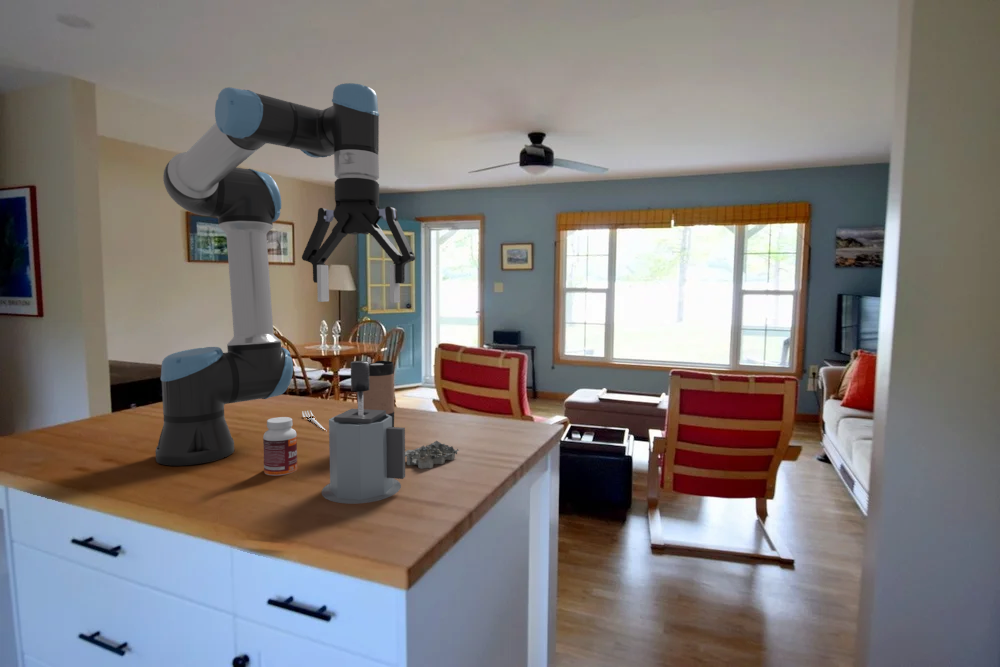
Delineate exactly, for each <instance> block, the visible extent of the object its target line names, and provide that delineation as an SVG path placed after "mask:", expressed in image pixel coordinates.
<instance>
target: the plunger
mask: <svg viewBox="0 0 1000 667" xmlns="http://www.w3.org/2000/svg"><path fill="white" fill-rule="evenodd" d="M369 364H370V361H369V360H354V361H350V391H352V392H356V393H357V409H358V415H364V406H363V391H368V390H370V386H369ZM363 424H364V423H358V425H363Z"/></svg>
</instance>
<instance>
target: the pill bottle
mask: <svg viewBox="0 0 1000 667" xmlns="http://www.w3.org/2000/svg"><path fill="white" fill-rule="evenodd" d="M266 427H267V430H266V431H265V432H264V434H263V436H262V437H263V438H262V440H263V473H264V474H265V475H267V476H285V475H289V474H292V473H295V472H296V471H297V470H298V448H297V447H298V443H297V442H298V437H297V436H298V435H297V431H296V430H295V429H294V428H292V427H293V418H291V417H288V416H279V417H271V418H268V419H267V420H266Z"/></svg>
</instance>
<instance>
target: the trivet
mask: <svg viewBox="0 0 1000 667" xmlns="http://www.w3.org/2000/svg"><path fill="white" fill-rule="evenodd" d="M401 487H402V484H401V482H400V481H399V479H398V480H397V479H396V478H393V486H392V487H391V488H390V489H389V490H388V491H387V492H386V493H385V494H384V495H380V496H375V497H371V498H366V499H362V500H358V499H346V498H338V497H337V496H336V495H335V494H334V493H333V492H332V491H331V490H330V482H329V483H328V484H326V485H325V486H324V487H323V488H322V490H321V496H322V497H323V498H324V499H326V500H328V501H330V502H334V503H340V504H347V505H348V504H352V505H353V504H355V505H356V504H366V503H373V502H378V501H381V500H384V499H385V500H386V499H388V498H390V497H392V496H394V495H396V494H398V492H399V491H400V490H401Z"/></svg>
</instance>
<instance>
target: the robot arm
mask: <svg viewBox="0 0 1000 667" xmlns="http://www.w3.org/2000/svg"><path fill="white" fill-rule="evenodd" d="M217 97H218V98H217V99H216V101H215V107H214V119H215V123H214V124H213V125H212V126H211V127H210V128H209V129H208V130H207V131H206V132H205V133H204V134H203V135H202V136H201V137H200V138H199V139H198V140H197V141H196V142H195V143H194V144H193V145H192V146H191V147H190V148H189V149H188V150H187V151H184V152H180V153H178V154H175V155H173V157H172V158H171V159H170V160H169V161H168V163H166V166H165V167H164V170H163V178H162V179H163V184H164V187H165V190H166V192H167V194H168V195H169V197H170V199H172V200H173V201H174V203H176V204H177V205H178V206H179V207H181V208H182V209H184V210H186V211H187V212H190V213H192V214H195V215H199V216H203V217H211V218H212V217H213V218H217V224H218V228H219V229H220V230H221V231H222V232H224V233H225V234H226V247H227V248H226V249H227V260H228V262H227V263H228V275H229V287H230V301H231V313H232V316H231V317H232V327H233V328H232V329H233V336H232V339H231V340H230V341H229V342H228V343H226V344H227V347H226V348H227V352H224V351H223V350H222V348H221V347H219V346H206V347H198V348H190V349H186V350H185V349H184V350H181V351H176V352H173V353H171V354H168V355H167V356H165V357H164V358H163V360H162V362H161V370H160V371H161V372H160V381H161V391H162V392H161V394H162V412H163V426H162V429H161V432H160V435H159V439H158V442H157V446H156V448H155V461H156V463H158V464H160V465H163V466H164V465H165V466H172V467H174V466H176V467H177V466H179V467H181V466H191V465H201V464H207V463H211V462H215V461H218V460H222V459H224V457H225V458H226V457H228V456H231V455H232V454H234V452H235V440H234V438H233V437H232V434H231V431H230V429H229V425H228V424H227V421H226V418H225V405H228V404H235V403H236V404H237V403H241V402H248V401H257V400H267V399H269V398H274V397H278V396H281V395H283V394H284V393H285V392H286V391H287V390H288V387H289V386H290V385H291V383H292V377H293V374H294V373H293V370H294V363H293V358H292V357H291V355H292V354H291V352H290V351H289V350H288V349H287V348H285V347H283V346H282V340H281V339H279V337H277V336H276V335H275V334H274V322H273V321H274V320H273V308H272V293H271V280H270V269H269V268H270V267H269V266H270V265H269V264H270V263H269V254H268V253H269V251H268V238H267V235H268V233H269V232H270V231H271V230H273V228H274V227H273V223H274V222H276V221H278V220H279V217H280V216H281V210H282V198H281V197H282V196H281V192H280V189H279V186H278V184H277V183H276V181H275V179H274V178H273V177H272V176H271V175H270V174H268V173H267V172H263V171H258V170H255V169H253V168H241V167H238V166H239V165H241V164H242V163H244V162H245V161H246V160H248V158H250V157H251V156H252V155H253V154H254V153H255V152H256V151H258V150H259V149H261V148H262V147H264V146H265V145H266V144H268V145H269V144H270V145H275V146H280V147H286V148H290V149H296V150H300V151H301V152H302V153H303V154H305V155H306V156H308V157H310V158H313V159H314V158H316V159H318V158H327V157H331V156H333V158H334V159H333V160H334V161H333V162H334V167H333V168H334V176H335V178H337V179H336V180H335V181H334V201H335V202H334V203H335V208H334V209H327V208H324V207H320V208H318V210H317V221H316V222H315V225H314V227H313V230H312V231H311V234H310V237H309V239H308V240H307V244H306V246H305V249H304V251H303V253H302V255H301V259H302V261H306V262H308V263H310V264H311V265H312V281H313V283H316V284H317V288H316V289H317V302H318V303H319V302H321V303H322V302H329V301H330V286H329V285H330V282H329V278H330V276H329V273H330V272H329V265H327V264H326V263H325V262H326V261H327V260H328V258H329V257H331V255H332V253H333V252H334V251H335V249H336V248H337V247H338V245H339V244H340V243H341V242H342V240H343V239H344V238H345V237H346V236H348V235H352V236H353V235H355V236H356V235H359V234H361V235H369V234H370V236H372V237H373V238H374V239H375V240H376V242H377V244H379V246H380V247H381V248H382V250H383V251H384V252H385V253H386V255H387V256H388V257H389V258H390V260H392V263H393V264H389V303H390V304H395V303H401V296H400V295H401V291H400V290H401V284H405V280H406V279H405V272H406V271H405V267H406V265H407V264H408V263H411V262H414V261H415V260H416V256H415V253H414V252H413V249H412V247H411V245H410V244H409V241H408V239H407V237H406V235H405V232H404V231H403V227H401V224H400V222H399V218H398V217H399V216H398V210H397V209H396V208H394V207H391V206H386V207H385V208H380V205H379V204H380V184H379V183H378V180H379V179H380V162H379V161H380V160H379V159H380V158H379V152H380V151H379V148H380V147H379V146H380V145H379V142H380V141H379V139H380V138H379V136H380V134H379V133H380V131H379V128H380V127H379V126H380V124H379V122H380V121H379V120H380V119H379V118H380V113H379V106H378V105H379V104H378V95H377V92H376V91H375V90H374V89H373V88H371V87H369V86H366V85H364V84H361V83H352V82H350V83H348V82H347V83H345V82H344V83H341V84H338V85H336V86H335V87H334V89H333V90H332V98H331V102H332V106H329V107H327V108H324V109H319V108H314V107H310V106H306V105H302V104H300V103H299V104H298V103H296V102H291V101H287V100H283V99H280V98H276V97H271V96H268V95H264V94H261V93H256V92H254V91H251V90H250V89H240V88H235V87H230V86H229V87H224V88H222V89H221V90H220V92H219V93H218V96H217ZM381 218H383V220H384V221H385V222H386V224H387V226H388V229H389V230H390V232H391V235H392V236H393V238H394V241H395V243H396V245H397V246H398V248H399V250H398V249H397V247H395V245H394V244H393V243H392V242H391V241H390V239H389V238H388V236H386V234H385V233H384V231H383V230H382V228H381V227H380V226H379V225H378V222H379V221H380V220H381ZM334 219H335V220H336V224H335V225H334V227H333V228H332V229H331V233H330V234H329V236H328V237H327V238H326V239H325V237H326V234H327V232H328V230H329V228H330V225H331V222H333V220H334ZM324 239H325V241H324ZM399 251H400V252H399Z"/></svg>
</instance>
